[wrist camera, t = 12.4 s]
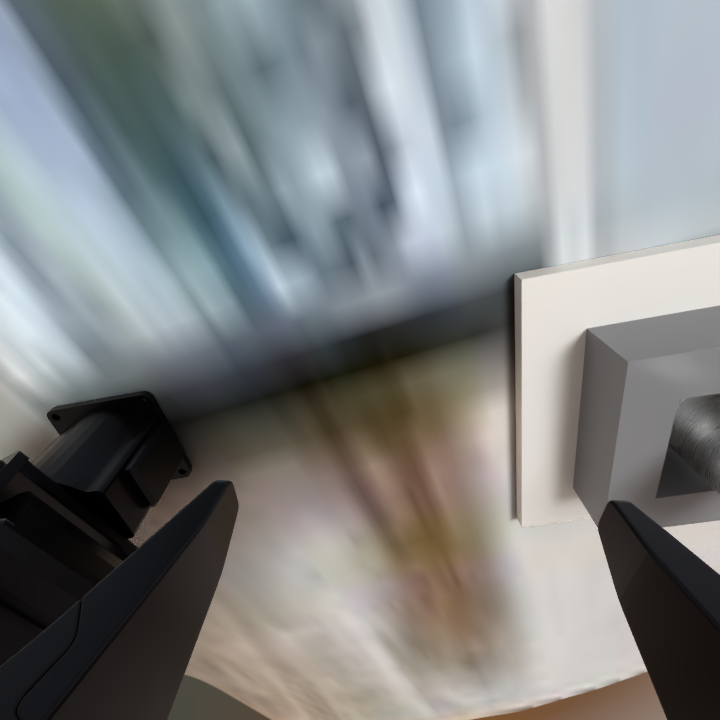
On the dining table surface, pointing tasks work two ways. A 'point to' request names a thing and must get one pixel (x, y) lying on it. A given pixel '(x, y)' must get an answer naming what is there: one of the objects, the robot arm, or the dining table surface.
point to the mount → (614, 382)
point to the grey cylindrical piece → (699, 436)
